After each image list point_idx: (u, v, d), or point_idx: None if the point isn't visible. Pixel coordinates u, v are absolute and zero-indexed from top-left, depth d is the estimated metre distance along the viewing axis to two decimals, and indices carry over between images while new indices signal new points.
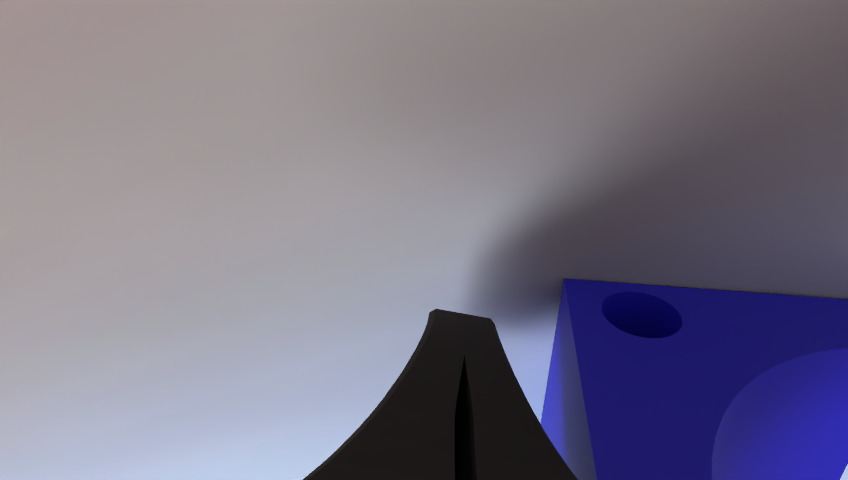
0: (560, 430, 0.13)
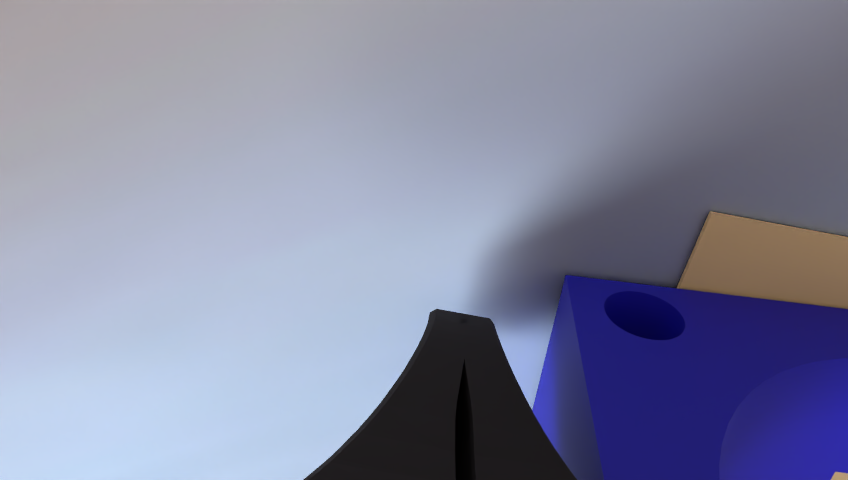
0: (556, 429, 0.13)
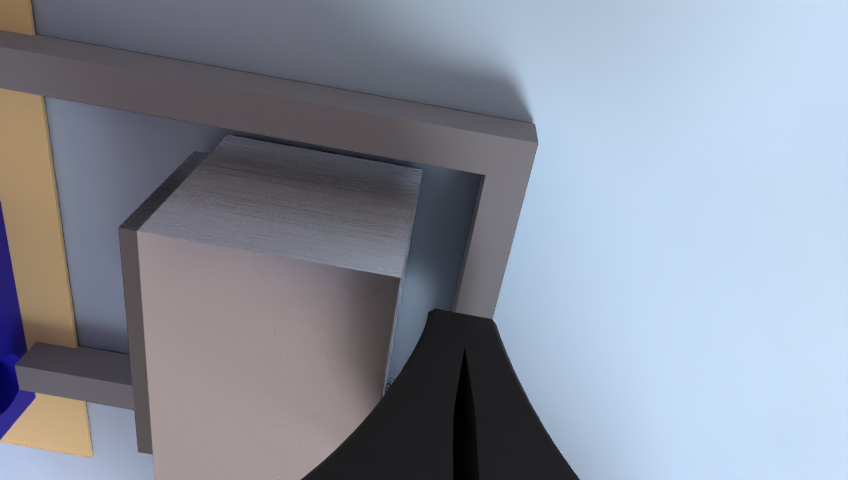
0: None
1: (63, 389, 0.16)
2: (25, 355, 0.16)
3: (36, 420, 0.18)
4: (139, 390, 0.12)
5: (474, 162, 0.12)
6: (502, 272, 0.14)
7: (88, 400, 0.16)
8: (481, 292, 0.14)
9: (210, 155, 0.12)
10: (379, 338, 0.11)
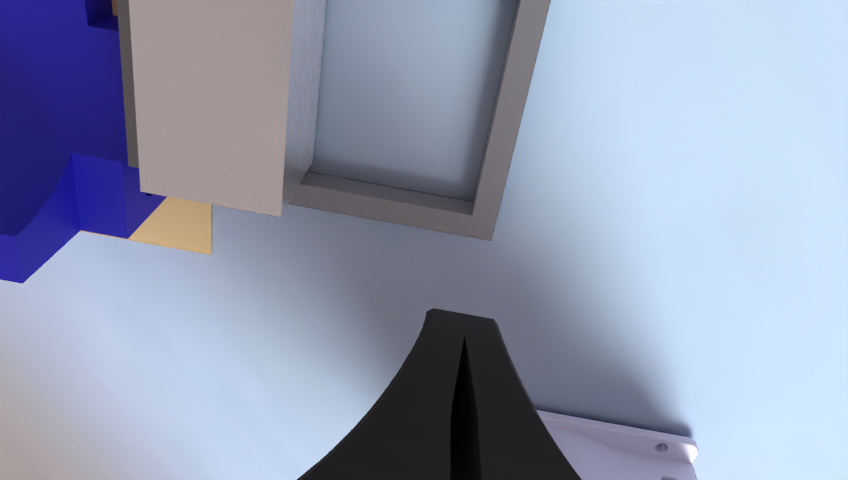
0: None
1: None
2: None
3: (172, 221, 0.24)
4: (129, 110, 0.18)
5: None
6: (531, 71, 0.19)
7: None
8: (516, 88, 0.20)
9: None
10: (284, 46, 0.16)
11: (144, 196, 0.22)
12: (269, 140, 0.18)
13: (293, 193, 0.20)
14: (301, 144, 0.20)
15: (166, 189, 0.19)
